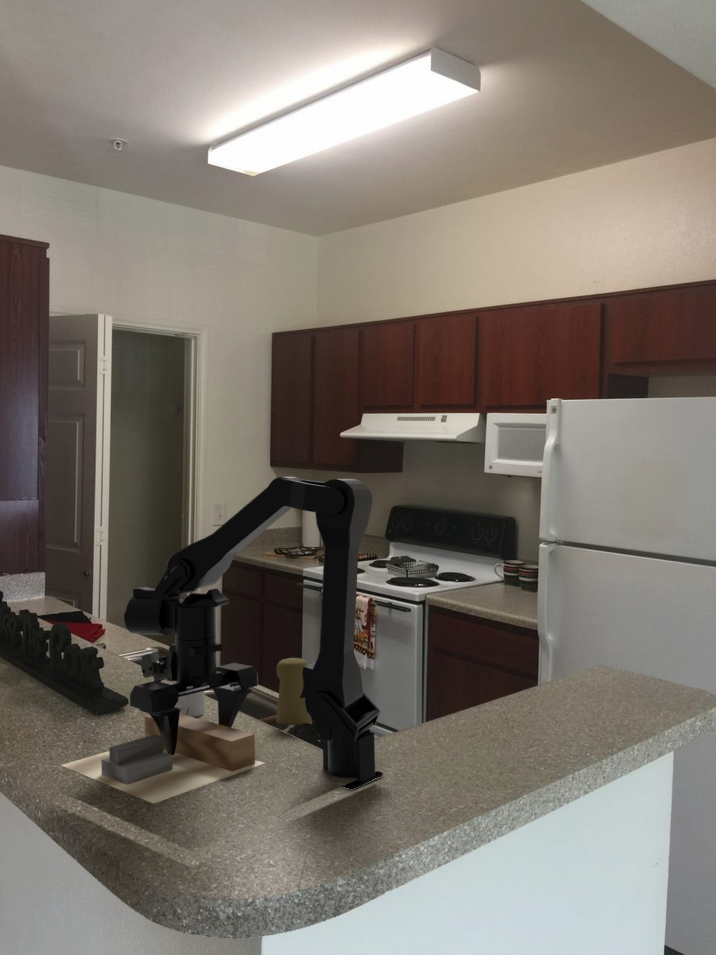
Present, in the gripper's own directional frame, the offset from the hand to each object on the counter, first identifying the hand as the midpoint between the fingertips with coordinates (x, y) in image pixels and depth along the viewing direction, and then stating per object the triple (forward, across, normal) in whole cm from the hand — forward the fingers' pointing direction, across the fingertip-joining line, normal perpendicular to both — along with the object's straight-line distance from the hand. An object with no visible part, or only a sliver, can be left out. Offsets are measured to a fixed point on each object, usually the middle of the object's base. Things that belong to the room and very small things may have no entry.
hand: (197, 746), depth 117 cm
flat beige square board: (+2, +6, 0) cm, 6 cm away
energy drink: (+2, -12, -18) cm, 22 cm away
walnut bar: (+1, 0, 0) cm, 1 cm away
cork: (+2, -20, -1) cm, 20 cm away
